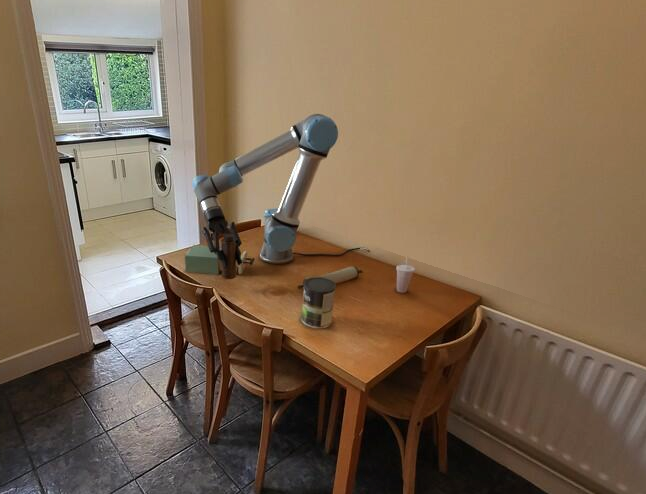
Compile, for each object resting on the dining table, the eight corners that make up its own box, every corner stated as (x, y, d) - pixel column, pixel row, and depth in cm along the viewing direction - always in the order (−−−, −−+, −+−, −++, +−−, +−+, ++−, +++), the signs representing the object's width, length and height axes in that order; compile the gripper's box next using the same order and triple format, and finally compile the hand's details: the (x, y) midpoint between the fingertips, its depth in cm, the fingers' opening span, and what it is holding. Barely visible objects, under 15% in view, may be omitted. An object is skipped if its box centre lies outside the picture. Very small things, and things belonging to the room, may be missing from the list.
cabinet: (225, 262, 185) (225, 247, 182) (218, 274, 174) (217, 257, 170) (194, 260, 188) (194, 244, 184) (185, 271, 177) (184, 255, 173)
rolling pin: (301, 296, 156) (302, 284, 153) (293, 290, 160) (293, 278, 158) (366, 278, 169) (367, 267, 167) (356, 273, 173) (358, 262, 171)
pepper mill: (237, 273, 161) (236, 233, 154) (234, 279, 157) (233, 238, 149) (224, 272, 162) (222, 232, 155) (220, 278, 158) (219, 237, 150)
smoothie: (410, 288, 161) (416, 255, 155) (410, 295, 155) (417, 261, 149) (392, 285, 163) (398, 253, 157) (392, 292, 157) (398, 259, 151)
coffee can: (305, 329, 135) (307, 291, 129) (298, 313, 144) (300, 277, 138) (335, 328, 135) (339, 290, 129) (327, 312, 145) (330, 276, 139)
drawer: (255, 263, 181) (256, 251, 179) (250, 274, 171) (251, 262, 169) (217, 260, 185) (217, 248, 182) (210, 271, 175) (209, 258, 172)
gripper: (230, 213, 167) (250, 264, 161) (188, 220, 159) (208, 274, 153) (236, 203, 161) (257, 256, 155) (193, 210, 153) (213, 266, 147)
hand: (233, 265), depth 154 cm, fingers closed on pepper mill, 5 cm apart
